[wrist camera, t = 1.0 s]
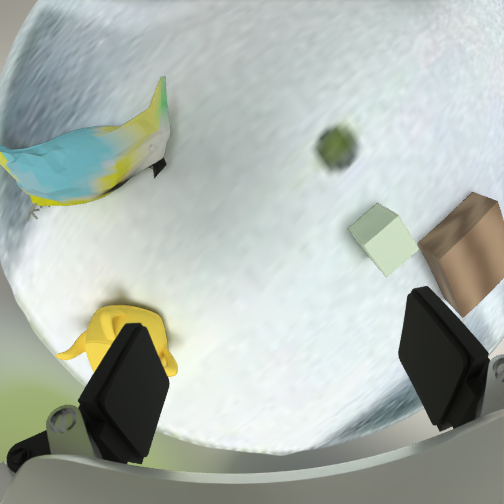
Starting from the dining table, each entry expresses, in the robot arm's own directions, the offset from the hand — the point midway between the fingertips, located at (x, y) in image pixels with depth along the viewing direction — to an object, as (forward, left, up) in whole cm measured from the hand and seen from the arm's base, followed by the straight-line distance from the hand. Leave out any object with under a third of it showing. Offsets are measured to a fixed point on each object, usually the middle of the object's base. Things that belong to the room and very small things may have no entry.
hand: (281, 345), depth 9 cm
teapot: (+27, +1, -25) cm, 37 cm away
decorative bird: (+10, -23, -25) cm, 35 cm away
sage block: (-8, +12, -25) cm, 29 cm away
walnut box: (-18, +24, -25) cm, 39 cm away
